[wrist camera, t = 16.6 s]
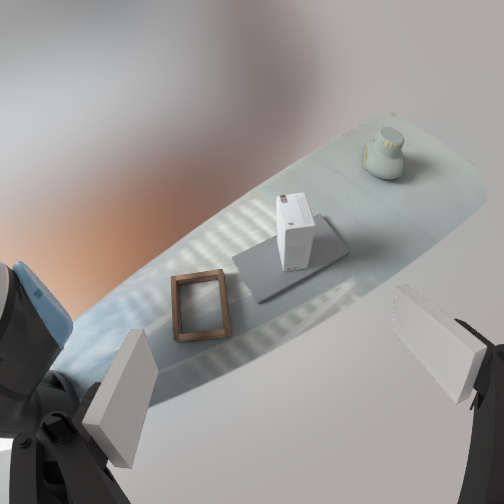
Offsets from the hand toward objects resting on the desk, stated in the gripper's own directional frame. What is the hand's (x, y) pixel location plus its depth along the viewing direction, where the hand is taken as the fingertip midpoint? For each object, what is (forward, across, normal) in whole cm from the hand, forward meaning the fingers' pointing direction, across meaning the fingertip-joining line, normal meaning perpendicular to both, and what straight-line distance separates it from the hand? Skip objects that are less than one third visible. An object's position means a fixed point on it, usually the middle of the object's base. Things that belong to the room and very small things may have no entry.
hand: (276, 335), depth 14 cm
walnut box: (+30, -9, -12) cm, 33 cm away
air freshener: (+48, +32, +6) cm, 58 cm away
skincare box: (+34, +7, -7) cm, 35 cm away
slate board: (+34, +7, -7) cm, 36 cm away
